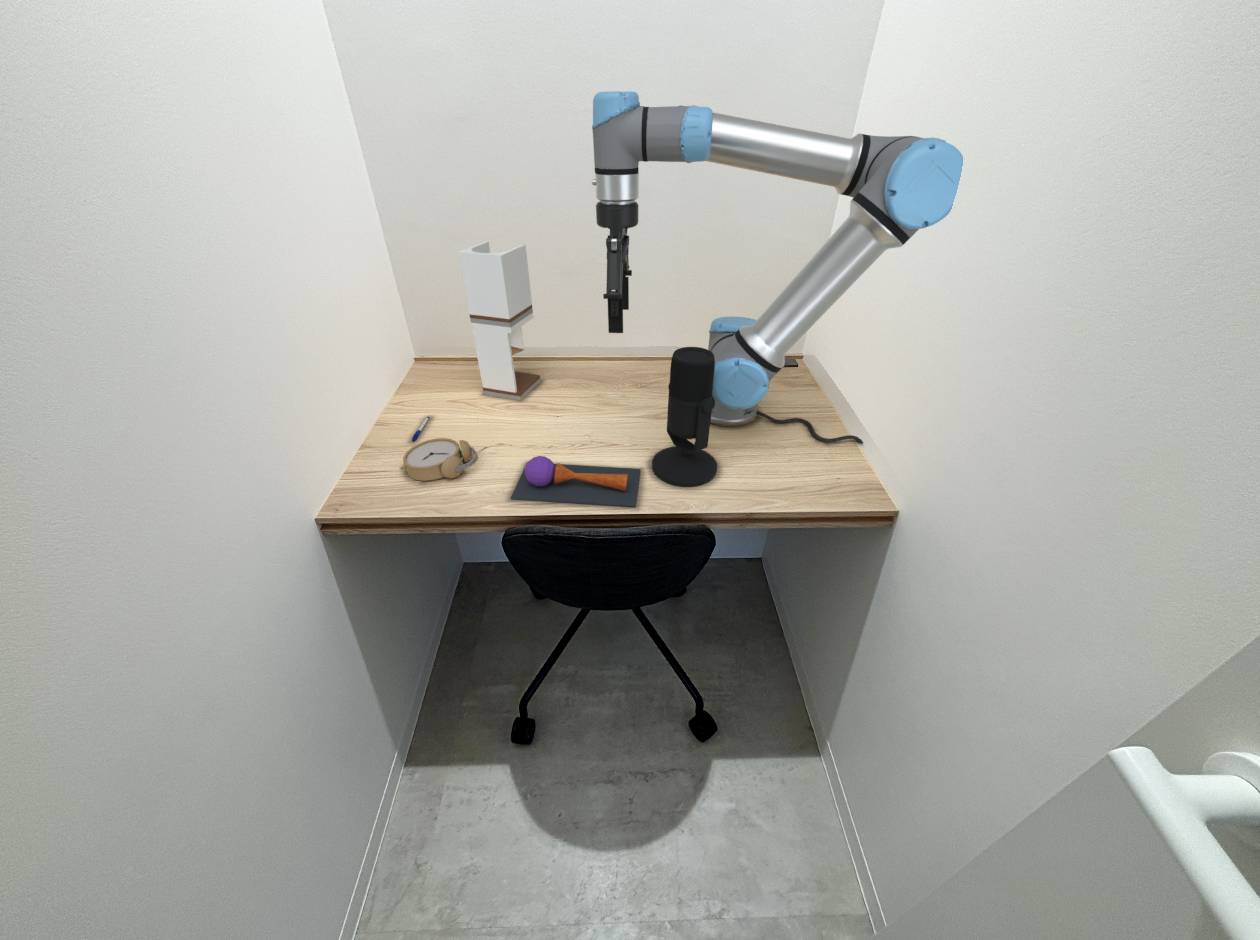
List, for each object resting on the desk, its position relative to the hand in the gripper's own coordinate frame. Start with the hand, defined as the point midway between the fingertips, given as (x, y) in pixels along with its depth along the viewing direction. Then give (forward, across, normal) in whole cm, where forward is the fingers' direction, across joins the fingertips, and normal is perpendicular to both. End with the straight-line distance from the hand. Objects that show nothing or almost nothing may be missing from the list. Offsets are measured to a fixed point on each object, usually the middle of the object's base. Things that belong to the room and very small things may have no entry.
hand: (619, 320), depth 101 cm
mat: (+26, +20, -7) cm, 34 cm away
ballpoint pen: (+26, +2, -47) cm, 54 cm away
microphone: (+27, +13, +14) cm, 33 cm away
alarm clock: (+26, +17, -36) cm, 47 cm away
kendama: (+26, +21, -7) cm, 34 cm away
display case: (+26, -20, -31) cm, 45 cm away
